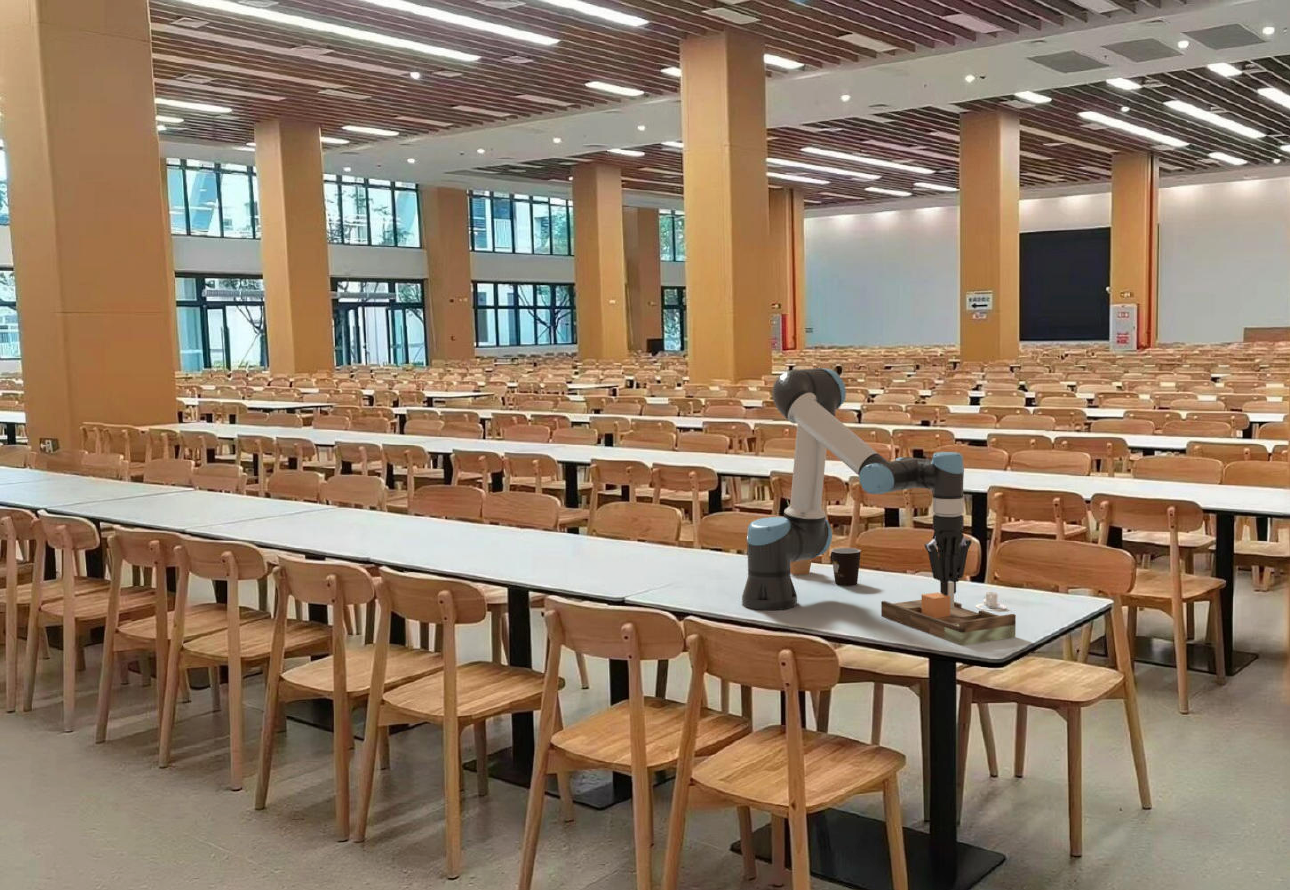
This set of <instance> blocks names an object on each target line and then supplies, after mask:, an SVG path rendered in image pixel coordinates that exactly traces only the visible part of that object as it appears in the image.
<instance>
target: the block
mask: <svg viewBox="0 0 1290 890" xmlns="http://www.w3.org/2000/svg"><path fill="white" fill-rule="evenodd" d="M921 600H922V614H925V615H928V616H931V617H933V618H939V617H946V616H950V596H947V595H943V594H941V592H932V593H926V594H925V593H924V594H921Z"/></svg>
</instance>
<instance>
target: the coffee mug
mask: <svg viewBox="0 0 1290 890" xmlns="http://www.w3.org/2000/svg"><path fill="white" fill-rule="evenodd" d="M861 551H862V550H861V549H859V548H853V547H838V548H833V549H831V550H830V552H831V553H830V556H829V557H830V561H831V563H832V569H833V570H832V571H833V576H834V577H833V578H834V584H835V585H836V586H837V587H838V586H840V587H853V586H857V585H858V581H859V580H858V579H859V571H860V569H859V568H860V563H861V562H860V561H861Z"/></svg>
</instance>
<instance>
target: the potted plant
mask: <svg viewBox="0 0 1290 890" xmlns="http://www.w3.org/2000/svg"><path fill="white" fill-rule="evenodd" d="M786 503H787V506H788V507H789V506H790V501H789V500H788V498H786ZM788 507H787V508H788ZM812 562H813V559H806V560H800V561H795V562H791V563H790V575H796V576H800V575H803V576H804V575H808V574H810V571H811V566H812Z"/></svg>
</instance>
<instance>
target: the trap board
mask: <svg viewBox="0 0 1290 890" xmlns="http://www.w3.org/2000/svg"><path fill="white" fill-rule="evenodd" d="M880 604H881V605H880V606H881V609H880V611H881V617H882V618H885V619H888V620H890V621H894V622H897V623H899V624H902V625H905V626H907V627H911V628H913V629H915V630H918V631H921V632H923V633H927V634H928V635H929V634H930V635H933V636H934V637H937V638H941V639H943V640H946V641H949V642H952V643H953V644H954V643H955V644H957V645H961V646H965V645H966V646H967V645H972V644H973V645H974V644H979V643H986V642H992V641H993V642H994V641H998V640H1004V639H1005V640H1006V639H1011V638H1016V630H1017V629H1016V617H1017V616H1016V614H1015V613H1010V614H1004V615H1002V614H1001V615H998V614H995V613H992V612H988V611H987V610H983V609H979V610H978V612H976V611H973V610H969V609H967V608H963V607H962V604H963V603H960V602H957V601H954V608H950V616H946V617H939V618H933V617H931V616H928V615H925V614H922V599H917V600H916V599H915V600H909V601H902V602H894V603H892V602H889V601H885V600H881V602H880Z"/></svg>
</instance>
